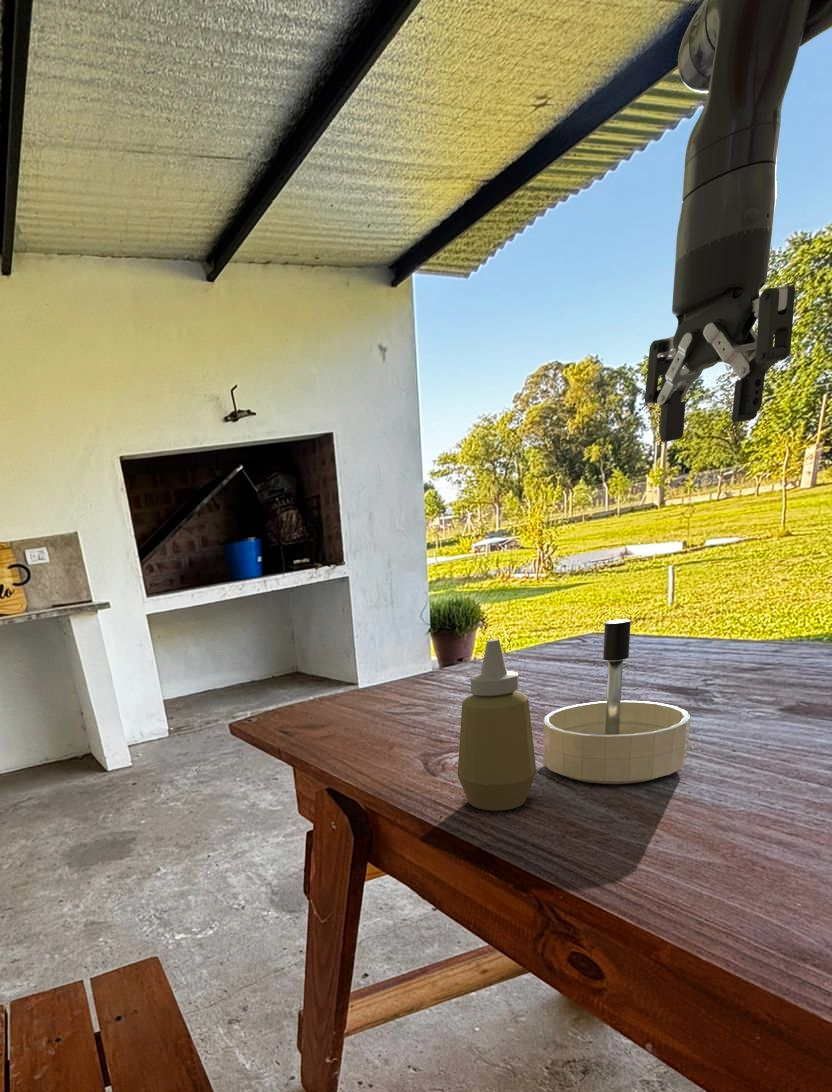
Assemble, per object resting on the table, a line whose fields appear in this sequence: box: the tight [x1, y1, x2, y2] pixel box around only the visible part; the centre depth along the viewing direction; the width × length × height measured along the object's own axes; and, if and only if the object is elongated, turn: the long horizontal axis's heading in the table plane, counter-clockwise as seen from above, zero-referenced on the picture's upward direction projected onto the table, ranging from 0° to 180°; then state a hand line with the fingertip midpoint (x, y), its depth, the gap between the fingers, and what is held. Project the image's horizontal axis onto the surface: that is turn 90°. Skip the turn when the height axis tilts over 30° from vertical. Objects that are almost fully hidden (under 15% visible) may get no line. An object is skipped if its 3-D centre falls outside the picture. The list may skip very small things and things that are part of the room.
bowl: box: [542, 700, 692, 785], centre depth 71 cm, size 14×14×6 cm
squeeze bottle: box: [457, 638, 537, 812], centre depth 66 cm, size 8×8×18 cm
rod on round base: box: [602, 618, 632, 735], centre depth 69 cm, size 6×6×16 cm
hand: (705, 431), depth 66 cm, fingers open, 8 cm apart
